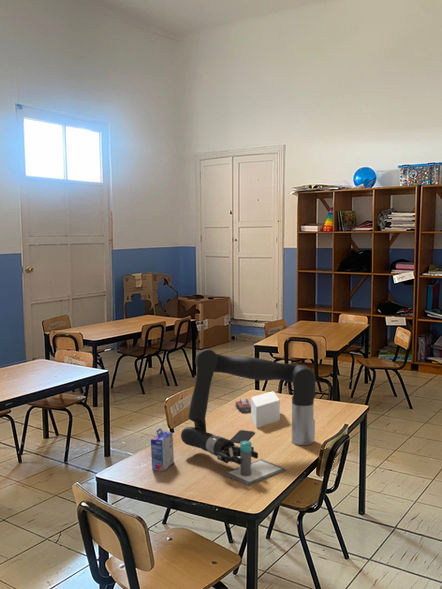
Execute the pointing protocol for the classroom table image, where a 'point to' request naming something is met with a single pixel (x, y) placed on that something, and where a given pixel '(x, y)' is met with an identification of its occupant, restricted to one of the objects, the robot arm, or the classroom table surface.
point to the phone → (242, 436)
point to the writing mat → (256, 472)
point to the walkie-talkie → (243, 405)
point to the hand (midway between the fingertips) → (249, 458)
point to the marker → (245, 458)
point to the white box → (265, 409)
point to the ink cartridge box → (162, 450)
